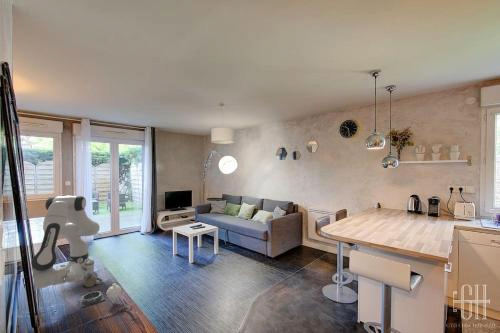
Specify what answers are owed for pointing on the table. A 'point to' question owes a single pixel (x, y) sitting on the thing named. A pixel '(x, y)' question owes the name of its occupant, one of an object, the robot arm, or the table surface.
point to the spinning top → (113, 292)
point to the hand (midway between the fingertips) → (90, 268)
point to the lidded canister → (87, 266)
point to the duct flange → (91, 298)
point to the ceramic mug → (92, 281)
